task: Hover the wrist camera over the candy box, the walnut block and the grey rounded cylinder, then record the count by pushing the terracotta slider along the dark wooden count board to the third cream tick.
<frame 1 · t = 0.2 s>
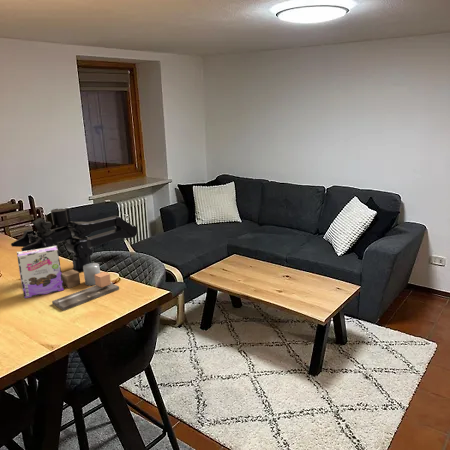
hand: (16, 247, 157), 16 cm above the table, tool horizontal, fingers open, 9 cm apart
grey rounded cylinder: (93, 282, 165), on the table
walnut block: (71, 284, 163), on the table
count board: (87, 296, 152), on the table
candy box: (43, 292, 158), on the table
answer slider: (102, 279, 156), point 4 cm above the table, slide at 0.0 cm
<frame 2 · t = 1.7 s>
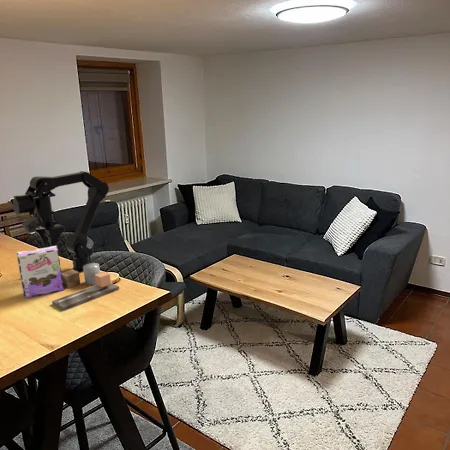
hand: (49, 247, 167), 13 cm above the table, tool pointing down, fingers open, 6 cm apart
nothing on the table moved.
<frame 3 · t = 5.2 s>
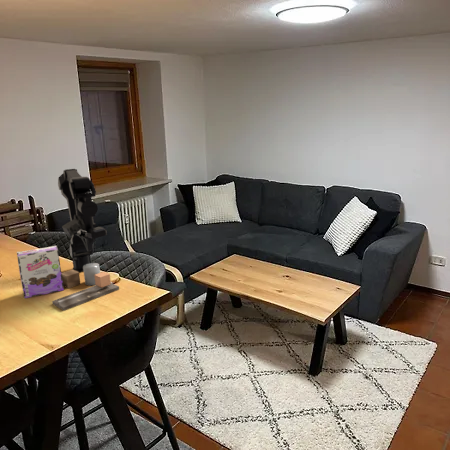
hand: (89, 250, 161), 13 cm above the table, tool pointing down, fingers closed
nothing on the table moved.
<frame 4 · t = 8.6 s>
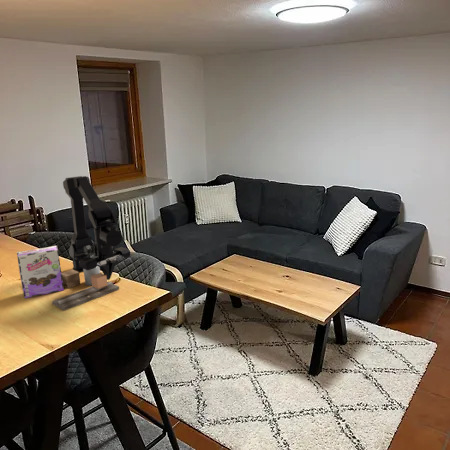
hand: (108, 279, 158), 4 cm above the table, tool pointing down, fingers closed
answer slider: (99, 280, 155), point 4 cm above the table, slide at 1.5 cm, touching gripper
everything else where it was.
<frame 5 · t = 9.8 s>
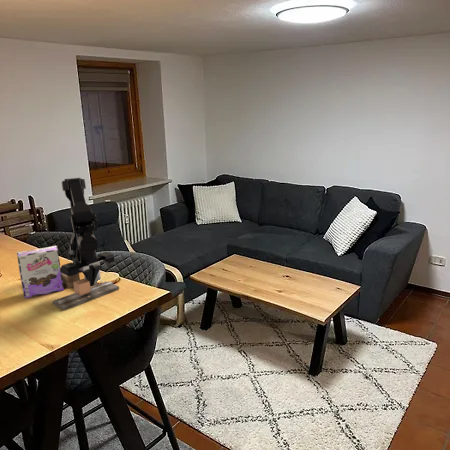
hand: (91, 285, 153), 4 cm above the table, tool pointing down, fingers closed
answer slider: (81, 286, 150), point 4 cm above the table, slide at 8.4 cm, touching gripper
everything else where it was.
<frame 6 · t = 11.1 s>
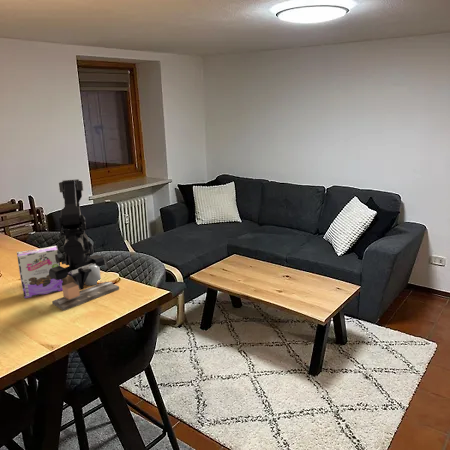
hand: (81, 289, 150), 4 cm above the table, tool pointing down, fingers closed
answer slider: (70, 290, 147), point 4 cm above the table, slide at 12.7 cm, touching gripper
everything else where it was.
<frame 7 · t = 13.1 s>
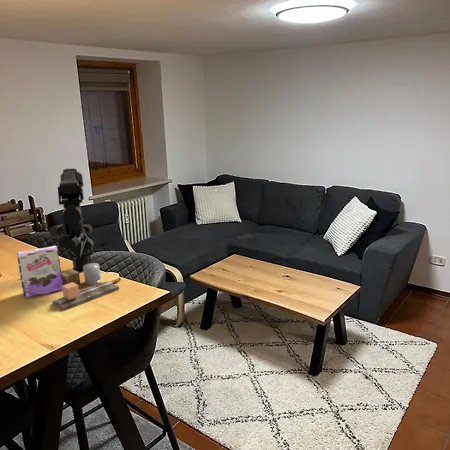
hand: (78, 257, 156), 12 cm above the table, tool pointing down, fingers closed
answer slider: (70, 290, 147), point 4 cm above the table, slide at 12.7 cm
everything else where it was.
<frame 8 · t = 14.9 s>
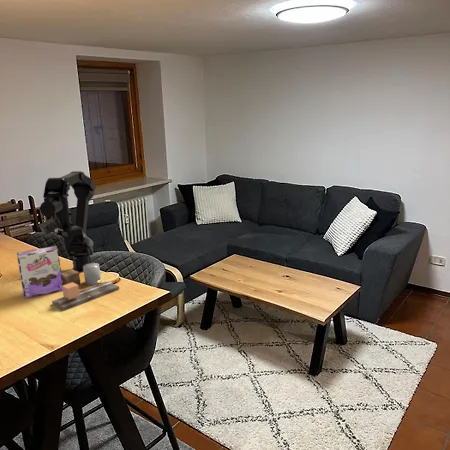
hand: (66, 249, 164), 13 cm above the table, tool pointing down, fingers closed
nothing on the table moved.
at the end: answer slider slide at 12.7 cm; candy box moved 0.3 cm from its start; walnut block moved 0.1 cm from its start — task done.
